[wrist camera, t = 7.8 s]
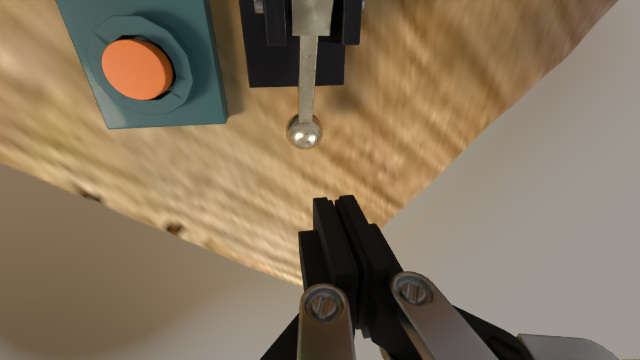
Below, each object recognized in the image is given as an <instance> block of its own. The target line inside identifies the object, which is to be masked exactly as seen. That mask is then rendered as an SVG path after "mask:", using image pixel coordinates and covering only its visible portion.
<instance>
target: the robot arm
mask: <svg viewBox="0 0 640 360" xmlns="http://www.w3.org/2000/svg"><path fill="white" fill-rule="evenodd" d="M298 238H299V254H300V264H301V271H302V279H303V286H304V294H303V295H302V297H301V301H300V308H299V313H298V315H297V316H296V317H295V318H294V319H293V321H292V322H291V323H290V324H289V325H288V327H287V328H286V329H285V330H284V332H283V333H282V334H281V335H280V336H279V338H278V339H277V340H276V341H275V342H274V343H273V344H272V346H271V347H270V348H269V349H268V350H267V352H266V353H265V354H264V355H263V357H262V358H261V359H260V360H356V354H355V347H354V336H355V328H356V329H357V330H358V329H361V331H362V334H363V337H364V338H370V337H371V340H372V342H374V343H375V344H377V345H378V346H379V349H380V352H381V355H382V357H383V359H384V360H619V359H618V358H617V357H616V356H615V355H614V354H613V353H612V352H610V351H609V350H607V349H606V348H604V347H603V346H601V345H599V344H597V343H595V342H593V341H591V340H587V339H583V338H574V337H560V336H546V335H532V334H518V336H517V337H515V336H513V335H512V334H510V333H508V332H507V331H505V330H503V329H501V328H499V327H497V326H495V325H493V324H490V323H488V322H486V321H484V320H482V319H480V318H478V317H476V316H474V315H472V314H470V313H468V312H466V311H464V310H461V309H459V308H458V307H456V306H454V305H451V303H450V302H449V301H448V300H447V299H446V297H445V296H444V295H443V294H442V293H441V292H440V290H439V289H438V288H437V287H436V286H435V285H434V283H432V282H431V281H430V280H429V279H428V278H427V277H425V276H423V275H421V274H419V273H416V272H409V271H407V272H404V271H403V269H402V268H401V266H400V264H399V263H398V261H397V259H396V257H395V255H394V254H393V252H392V250H391V248H390V247H389V245H388V243H387V241H386V240H385V238H384V236H383V234H382V233H381V231H380V229H379V227H378V226H377V225H376V224H375V223H373V224H369V223H368V222H367V220H366V218H365V216H364V214H363V212H362V210H361V208H360V207H359V205H358V203H357V201H356V199H355V197H354V196H353V195H344V196H340V197H339V199H338V200H335V207H334V204H333V202H332V200H328V199H327V197H322V198H313V230H309V231H300V232H298ZM622 360H640V359H622Z"/></svg>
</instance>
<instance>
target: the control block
mask: <svg viewBox="0 0 640 360" xmlns="http://www.w3.org/2000/svg"><path fill="white" fill-rule="evenodd" d="M56 3H57V5H58V8H59V10H60V13H61V15H62V17H63V20H64V22H65V25H66V27H67V30H68V32H69V35H70V37H71V40H72V42H73V44H74V47H75V49H76V52H77V54H78V57H79V59H80V62H81V64H82V67H83V69H84V72H85V74H86V76H87V79H88V81H89V84H90V86H91V89H92V91H93V94H94V96H95V99H96V101H97V104H98V106H99V108H100V111H101V113H102V116H103V118H104V121H105V123H106V126H107V128H108V129H123V128H144V127H165V126H186V125H207V124H225V123H226V121H227V119H228V111H227V105H226V99H225V93H224V87H223V82H222V76H221V70H220V64H219V58H218V52H217V46H216V41H215V35H214V29H213V23H212V17H211V11H210V5H209V0H56ZM126 39H139V40H144V41H147V42H149V43H151V44H153V45H155V46H156V47H157V48H159V49H160V50H161V51H162V52H163V53H164V54H165V56H166V57H167V58H168V60H169V62H170V64H171V67H172V72H173V79H172V83H171V85H170V87H169V88H168V89H167V90H166V91H165V92H164V93H162V94H160V95H158V96H156V97H155V98H152V99H148V100H137V99H133V98H130V97H127V96H125V95H124V94H122V93H120V92H119V91H118V90H116V89H115V88H114V87H113V86H112V85H111V84H110V82H109V81H108V80H107V78H106V76H105V74H104V72H103V68H102V55H103V52H104V50H105V49H106V47H107V46H108V45H109V44H111V43H112V42H115V41H117V40H126Z"/></svg>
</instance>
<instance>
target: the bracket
mask: <svg viewBox="0 0 640 360" xmlns="http://www.w3.org/2000/svg"><path fill="white" fill-rule="evenodd" d="M364 5H365V0H334V1H333V10H332V20H331V29H330V36H318V46H317V61H316V75H315V86H326V85H344V64H345V45H359V43H360V29H361V14H362V12H363V9H364ZM239 6H240V14H241V22H242V30H243V38H244V46H245V54H246V62H247V70H248V78H249V86H250V88H255V87H290V86H298V36H292V33H291V28H290V23H289V17H288V0H239Z"/></svg>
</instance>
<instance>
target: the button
mask: <svg viewBox="0 0 640 360" xmlns="http://www.w3.org/2000/svg"><path fill="white" fill-rule="evenodd" d="M102 68H103V72H104V74H105V76H106V78H107V80H108V81H109V82H110V84H111V85H112V86H113V87H114V88H115V89H116V90H118V91H119V92H120V93H122V94H124V95H125V96H127V97H130V98H133V99H137V100H148V99H152V98H155V97H156V96H158V95H160V94H162V93H164V92H165V91H166V90H167V89H168V88H169V87H170V85H171V83H172V79H173V72H172V67H171V64H170V62H169V60H168V58H167V57H166V56H165V54H164V53H163V52H162V51H161V50H160V49H159V48H157V47H156V46H155V45H153V44H151V43H149V42H147V41H144V40H139V39H126V40H117V41H115V42H112V43H111V44H109V45H108V46H107V47H106V49H105V50H104V52H103V55H102Z"/></svg>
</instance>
